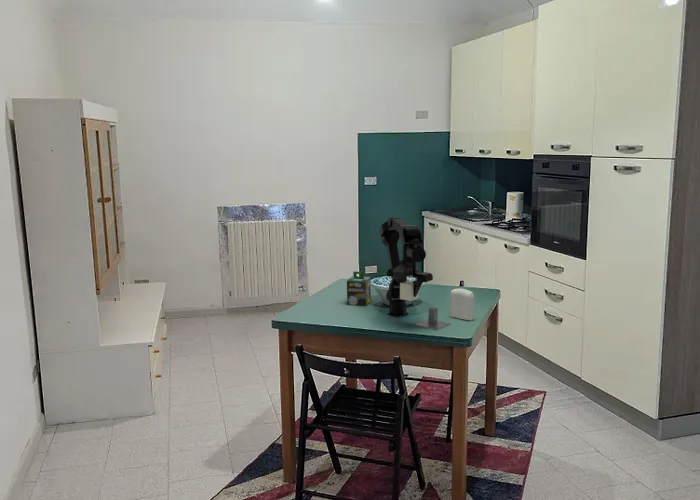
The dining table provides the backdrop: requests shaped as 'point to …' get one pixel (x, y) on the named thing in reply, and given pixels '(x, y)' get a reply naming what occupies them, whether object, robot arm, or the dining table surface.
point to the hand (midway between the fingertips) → (409, 295)
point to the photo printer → (462, 304)
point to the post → (432, 321)
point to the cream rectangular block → (407, 291)
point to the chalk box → (358, 290)
